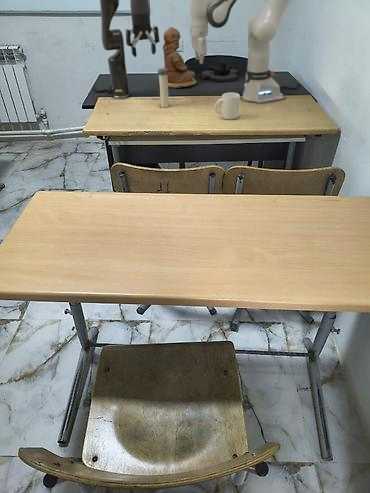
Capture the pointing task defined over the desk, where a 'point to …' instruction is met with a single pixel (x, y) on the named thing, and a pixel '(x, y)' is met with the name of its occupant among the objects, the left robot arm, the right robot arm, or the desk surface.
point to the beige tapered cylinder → (164, 90)
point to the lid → (163, 71)
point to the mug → (229, 105)
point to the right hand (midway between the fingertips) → (199, 61)
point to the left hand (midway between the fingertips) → (144, 55)
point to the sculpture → (175, 61)
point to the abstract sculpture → (220, 73)
